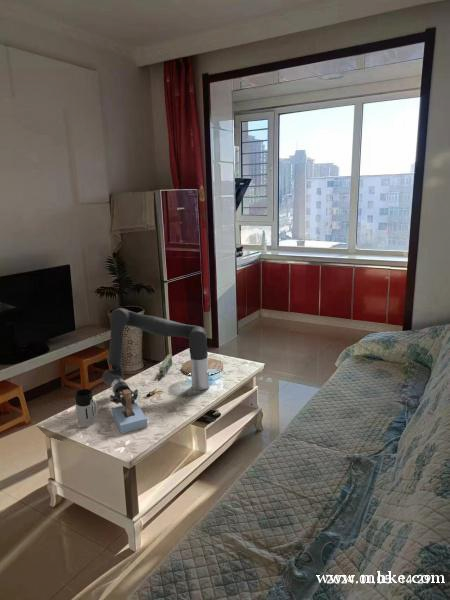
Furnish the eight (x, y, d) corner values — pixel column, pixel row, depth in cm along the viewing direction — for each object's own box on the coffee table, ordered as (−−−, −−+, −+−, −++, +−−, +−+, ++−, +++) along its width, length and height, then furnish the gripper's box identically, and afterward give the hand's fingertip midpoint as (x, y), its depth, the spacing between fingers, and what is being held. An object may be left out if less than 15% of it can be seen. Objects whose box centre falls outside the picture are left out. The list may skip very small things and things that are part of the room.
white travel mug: (89, 415, 209) (86, 386, 205) (107, 424, 200) (104, 394, 196) (73, 422, 202) (69, 393, 198) (90, 432, 193) (87, 402, 190)
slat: (130, 416, 204) (128, 389, 201) (133, 420, 200) (130, 392, 197) (125, 417, 203) (122, 390, 200) (127, 422, 199) (125, 394, 196)
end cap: (137, 409, 212) (136, 402, 211) (147, 426, 197) (146, 418, 196) (112, 415, 207) (111, 408, 206) (121, 433, 192) (120, 425, 191)
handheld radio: (173, 364, 269) (162, 381, 244) (168, 364, 269) (156, 381, 245) (172, 354, 267) (161, 370, 243) (167, 354, 267) (155, 370, 243)
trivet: (177, 376, 251) (176, 373, 250) (187, 360, 275) (186, 357, 274) (219, 377, 247) (219, 374, 246) (226, 361, 271) (225, 358, 270)
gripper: (105, 384, 208) (112, 399, 193) (133, 378, 214) (143, 392, 199) (106, 399, 210) (114, 414, 195) (135, 392, 216) (144, 407, 201)
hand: (129, 403), depth 197 cm, fingers open, 3 cm apart
